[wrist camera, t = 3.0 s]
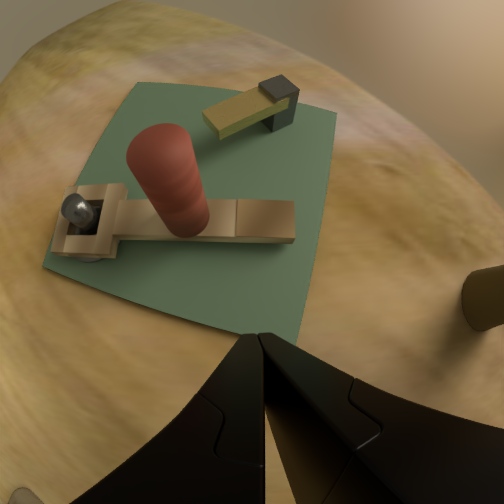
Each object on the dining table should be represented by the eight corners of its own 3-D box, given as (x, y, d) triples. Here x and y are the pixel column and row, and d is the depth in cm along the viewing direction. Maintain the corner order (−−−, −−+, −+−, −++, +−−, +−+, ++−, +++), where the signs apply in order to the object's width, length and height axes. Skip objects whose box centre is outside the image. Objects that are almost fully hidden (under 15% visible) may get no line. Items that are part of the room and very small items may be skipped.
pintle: (114, 274, 21) (87, 258, 17) (58, 253, 21) (28, 236, 17) (141, 201, 23) (122, 173, 19) (85, 189, 23) (61, 163, 19)
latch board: (293, 346, 20) (295, 347, 19) (45, 267, 21) (42, 266, 20) (335, 116, 26) (336, 112, 26) (138, 85, 27) (137, 82, 27)
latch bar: (58, 255, 20) (-15, 212, 11) (72, 193, 22) (16, 133, 13) (292, 264, 20) (327, 208, 12) (290, 191, 22) (315, 108, 13)
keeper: (275, 111, 26) (280, 73, 21) (292, 127, 26) (300, 90, 21) (207, 144, 25) (200, 106, 20) (222, 163, 24) (218, 126, 19)
